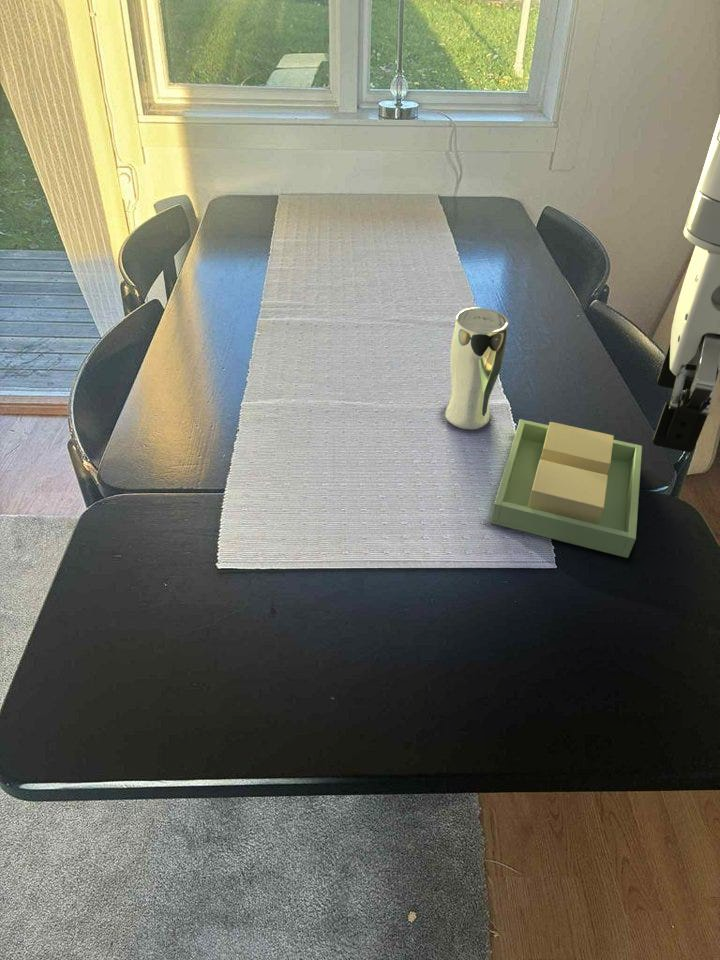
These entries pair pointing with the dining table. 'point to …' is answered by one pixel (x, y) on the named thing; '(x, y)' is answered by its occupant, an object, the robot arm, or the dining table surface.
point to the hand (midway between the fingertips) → (673, 415)
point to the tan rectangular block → (569, 492)
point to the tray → (607, 536)
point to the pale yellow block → (578, 448)
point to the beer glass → (475, 365)
